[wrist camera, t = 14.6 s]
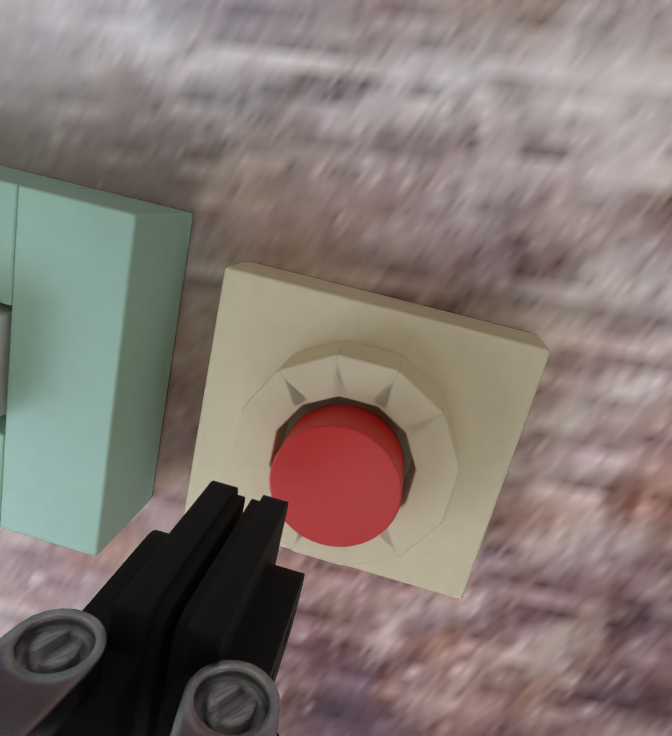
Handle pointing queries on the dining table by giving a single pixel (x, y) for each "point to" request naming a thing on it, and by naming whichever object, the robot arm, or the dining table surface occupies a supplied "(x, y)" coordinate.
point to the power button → (339, 475)
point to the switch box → (369, 408)
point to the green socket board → (84, 354)
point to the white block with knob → (4, 353)
